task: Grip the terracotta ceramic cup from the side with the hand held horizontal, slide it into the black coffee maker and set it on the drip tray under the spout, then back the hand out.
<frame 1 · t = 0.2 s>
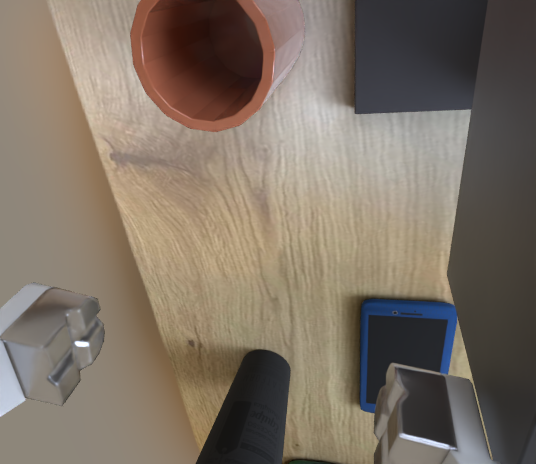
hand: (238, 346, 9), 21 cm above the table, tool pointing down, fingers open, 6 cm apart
drinking cup: (266, 365, 41), on the table
cup: (254, 30, 25), on the table
cell phone: (402, 358, 37), on the table
coffee maker: (469, 10, 22), on the table
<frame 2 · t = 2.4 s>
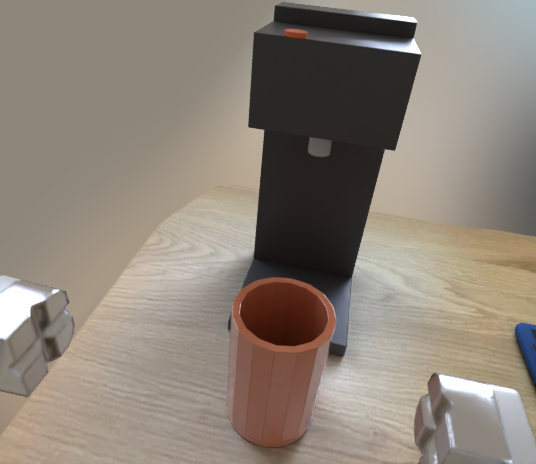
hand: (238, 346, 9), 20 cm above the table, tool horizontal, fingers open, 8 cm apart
cup: (270, 405, 30), on the table
coffee maker: (295, 296, 40), on the table
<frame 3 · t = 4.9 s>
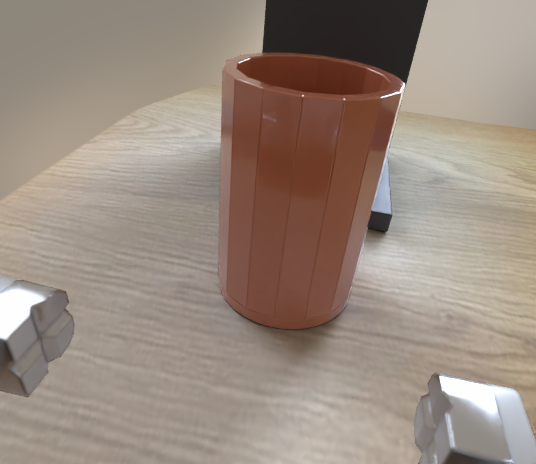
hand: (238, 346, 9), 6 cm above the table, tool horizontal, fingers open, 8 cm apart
cup: (284, 280, 20), on the table
coffee maker: (313, 174, 30), on the table
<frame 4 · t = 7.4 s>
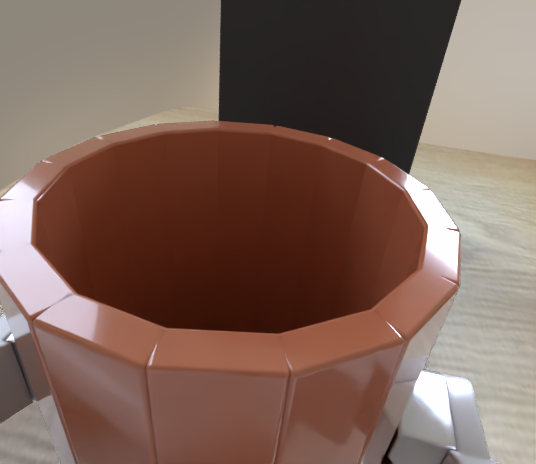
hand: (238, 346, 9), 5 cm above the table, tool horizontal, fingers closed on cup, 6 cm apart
coffee maker: (292, 251, 21), on the table
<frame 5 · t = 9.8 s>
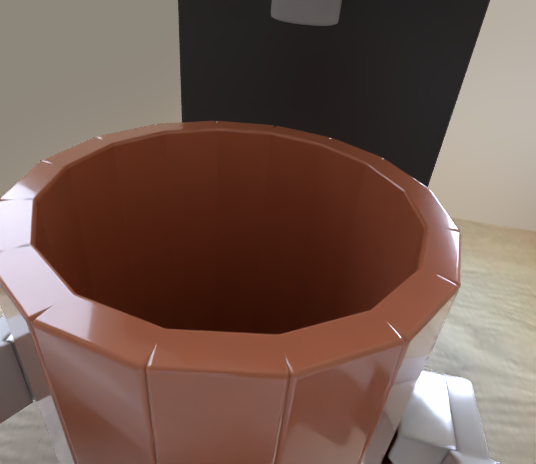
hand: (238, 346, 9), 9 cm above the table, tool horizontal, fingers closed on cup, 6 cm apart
coffee maker: (265, 379, 20), on the table
when the fingers open (6 cm above the table, at t = 12.4 s): cup stays where it is, resting on coffee maker.
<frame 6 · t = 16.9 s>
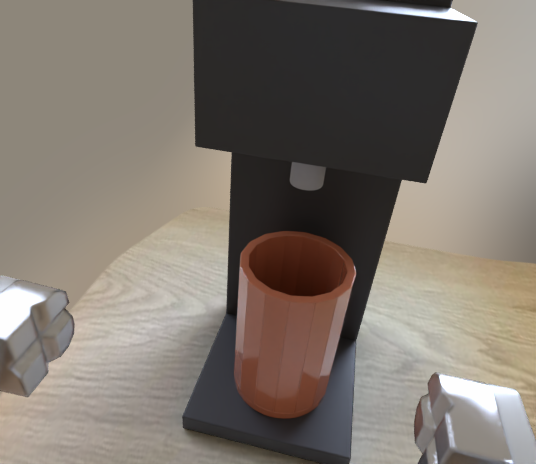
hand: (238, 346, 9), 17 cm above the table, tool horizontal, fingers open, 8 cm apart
cup: (280, 375, 28), point 1 cm above the table, touching coffee maker
coffee maker: (281, 368, 30), on the table
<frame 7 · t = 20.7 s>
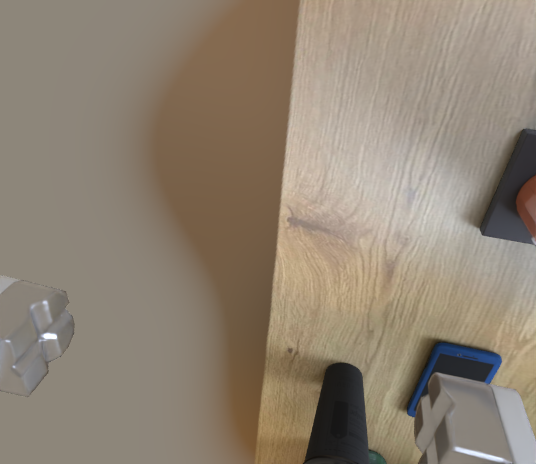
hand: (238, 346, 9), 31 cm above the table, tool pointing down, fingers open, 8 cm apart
drinking cup: (343, 374, 55), on the table
cell phone: (449, 383, 52), on the table
coffee jar: (353, 456, 64), on the table
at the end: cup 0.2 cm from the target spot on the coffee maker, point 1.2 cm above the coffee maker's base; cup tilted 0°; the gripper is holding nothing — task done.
